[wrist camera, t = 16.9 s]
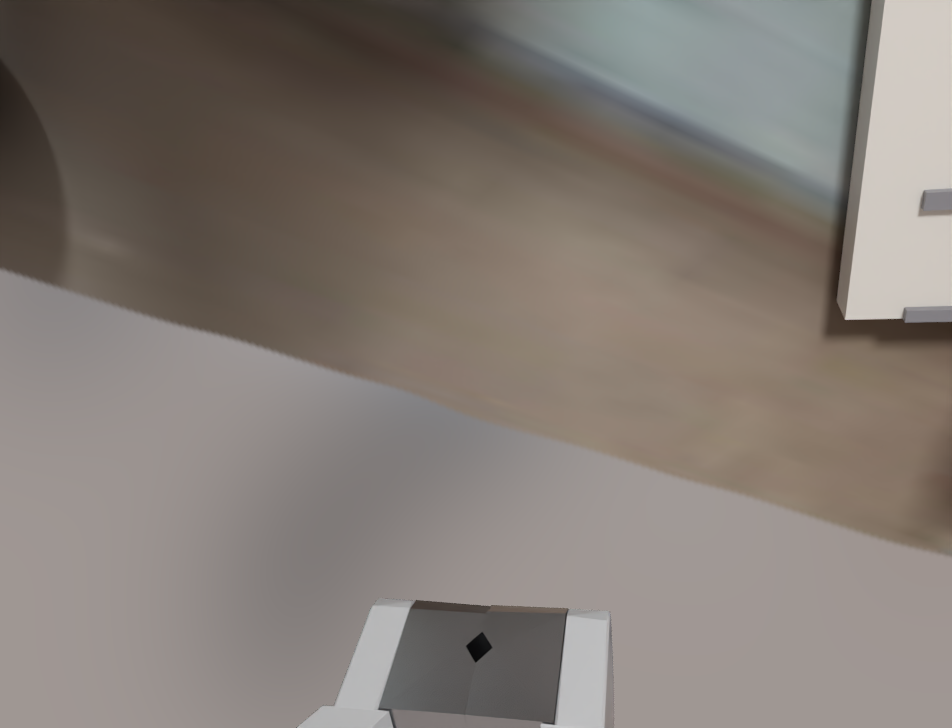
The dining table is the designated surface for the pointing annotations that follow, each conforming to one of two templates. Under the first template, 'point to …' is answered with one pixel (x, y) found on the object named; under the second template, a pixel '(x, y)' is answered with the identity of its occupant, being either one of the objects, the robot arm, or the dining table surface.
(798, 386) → the dining table surface
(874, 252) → the white base plate
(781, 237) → the dining table surface
